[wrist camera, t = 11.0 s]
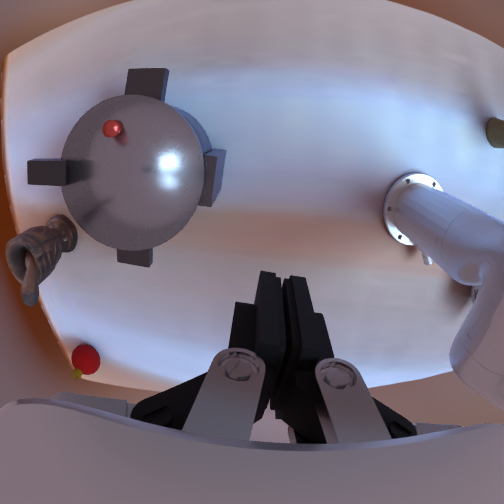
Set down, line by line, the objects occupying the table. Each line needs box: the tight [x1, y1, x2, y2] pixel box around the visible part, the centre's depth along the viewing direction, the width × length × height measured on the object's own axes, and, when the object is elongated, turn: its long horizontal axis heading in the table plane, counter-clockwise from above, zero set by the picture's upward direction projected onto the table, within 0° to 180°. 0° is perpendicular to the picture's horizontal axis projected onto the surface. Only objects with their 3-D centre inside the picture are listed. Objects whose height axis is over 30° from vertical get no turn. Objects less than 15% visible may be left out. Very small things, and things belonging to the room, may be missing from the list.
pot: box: [117, 68, 226, 267], centre depth 37 cm, size 20×27×10 cm
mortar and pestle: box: [6, 215, 77, 306], centre depth 37 cm, size 12×9×20 cm
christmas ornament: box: [71, 344, 100, 380], centre depth 53 cm, size 7×7×10 cm
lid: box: [27, 95, 205, 251], centre depth 30 cm, size 24×19×3 cm
